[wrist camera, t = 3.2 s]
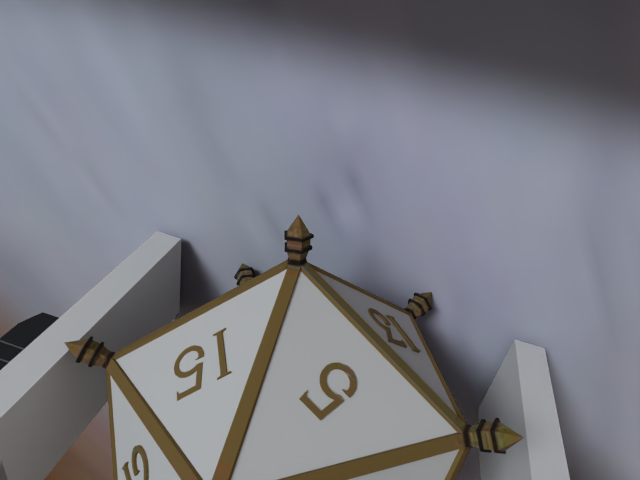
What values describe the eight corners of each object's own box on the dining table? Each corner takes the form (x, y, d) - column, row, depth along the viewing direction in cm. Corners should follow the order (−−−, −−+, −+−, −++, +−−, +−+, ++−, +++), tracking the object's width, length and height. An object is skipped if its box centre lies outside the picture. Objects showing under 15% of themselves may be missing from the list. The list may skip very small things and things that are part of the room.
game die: (413, 268, 17) (611, 618, 11) (202, 377, 18) (268, 759, 11) (313, 59, 10) (712, 710, 4) (-24, 255, 11) (-168, 1046, 5)
